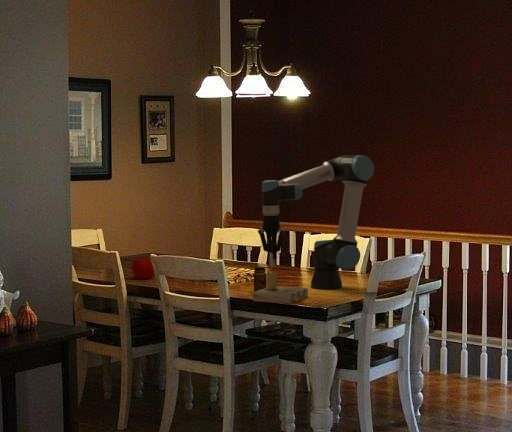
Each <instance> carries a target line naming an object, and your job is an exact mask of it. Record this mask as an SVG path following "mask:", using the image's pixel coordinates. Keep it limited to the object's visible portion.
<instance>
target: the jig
mask: <svg viewBox="0 0 512 432" xmlns="http://www.w3.org/2000/svg"><path fill="white" fill-rule="evenodd" d="M308 292H309V288H307V287H294V286H278V285H277V290H276V291H268V290H267V288H265V289H261V290H258V291H255V292H253V293H252V301H253V302H263V303H277V304H289V305H290V304H293V303H296V302H298V301H300V300H303V298H304V299H306V298H309V293H308ZM295 301H296V302H295Z"/></svg>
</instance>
